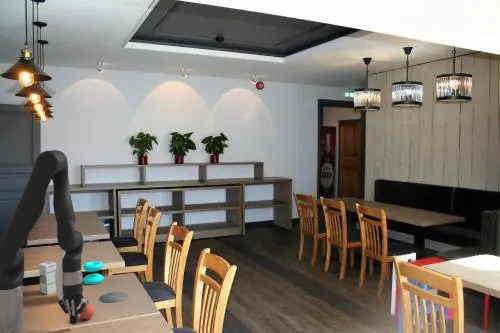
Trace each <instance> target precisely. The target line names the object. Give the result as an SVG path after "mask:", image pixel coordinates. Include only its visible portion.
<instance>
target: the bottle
mask: <svg viewBox="0 0 500 333" xmlns="http://www.w3.org/2000/svg"><path fill="white" fill-rule="evenodd" d="M65 252H66V251H64V250H62V249H61V257H60V259H59V260H58V262H57V263H56V272H55V284H56V292H55V293H56V295H57V296H56V297H57V299H58V301H59V300H61V299H62V298H63V293H62V259H63V257H64V256H65Z"/></svg>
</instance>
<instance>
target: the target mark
mask: <svg viewBox="0 0 500 333" xmlns="http://www.w3.org/2000/svg"><path fill="white" fill-rule="evenodd" d="M128 297H129V295H128V293H126V292H122V291H114V292H107V293H104V294H102V295H101V296H99V297H98V300H99V301H100V302H102V303H108V304H110V303H111V304H112V303H118V302H119V303H120V302H122V301H125V300H126V299H127V298H128Z"/></svg>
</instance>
